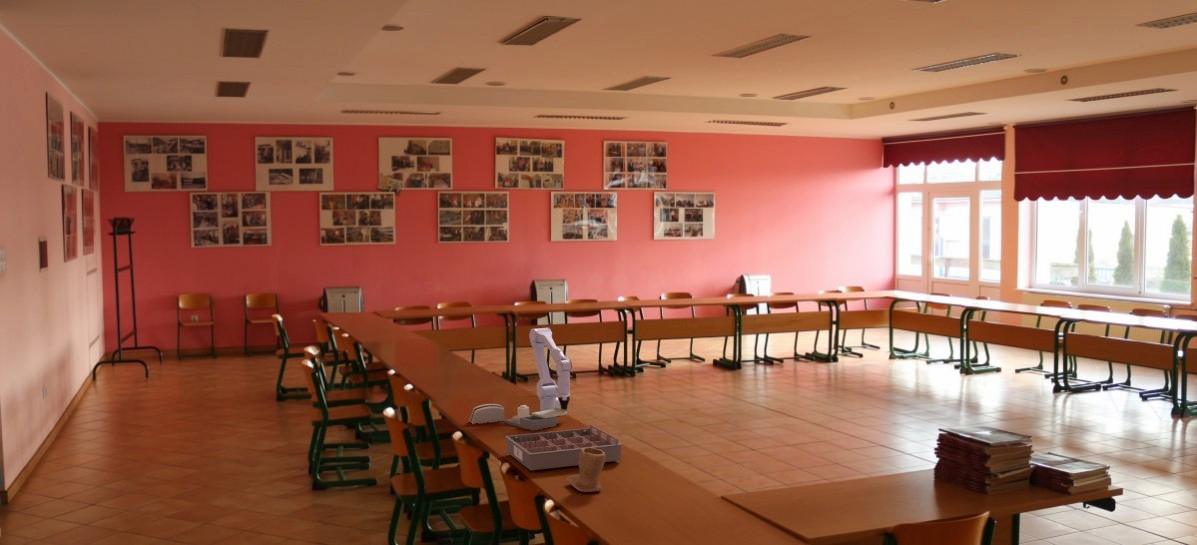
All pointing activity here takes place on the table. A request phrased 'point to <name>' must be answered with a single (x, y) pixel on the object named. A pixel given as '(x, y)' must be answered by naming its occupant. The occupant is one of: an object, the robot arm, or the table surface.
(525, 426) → the housing
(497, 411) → the white speaker
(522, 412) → the cube with dome top
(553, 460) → the organizer tray
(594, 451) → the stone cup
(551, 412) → the lid
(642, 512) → the table surface
